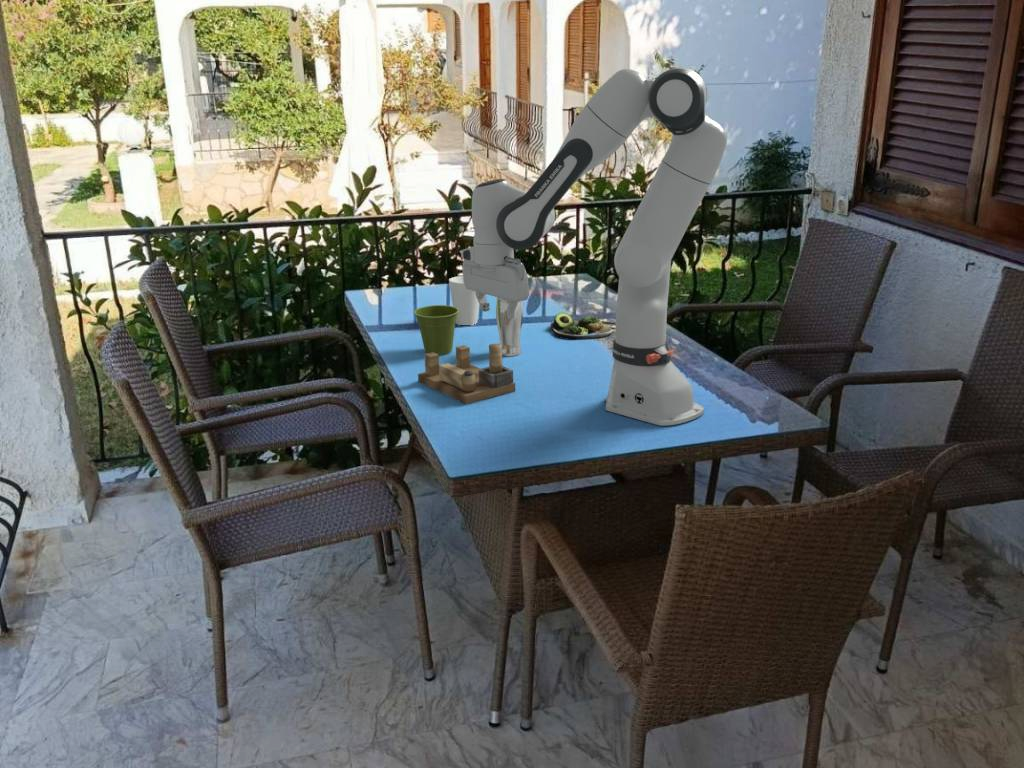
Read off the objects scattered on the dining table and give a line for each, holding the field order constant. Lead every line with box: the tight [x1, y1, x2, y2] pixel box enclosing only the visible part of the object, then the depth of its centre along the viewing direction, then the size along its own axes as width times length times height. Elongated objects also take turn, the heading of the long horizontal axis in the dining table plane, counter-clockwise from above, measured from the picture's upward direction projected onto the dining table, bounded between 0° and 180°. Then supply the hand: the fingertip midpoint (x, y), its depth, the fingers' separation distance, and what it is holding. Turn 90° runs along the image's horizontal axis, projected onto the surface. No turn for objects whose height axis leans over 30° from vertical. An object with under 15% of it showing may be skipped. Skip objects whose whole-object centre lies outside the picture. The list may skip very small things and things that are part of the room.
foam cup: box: [448, 275, 480, 326], centre depth 269 cm, size 10×9×13 cm
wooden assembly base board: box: [417, 344, 516, 405], centre depth 218 cm, size 20×14×7 cm
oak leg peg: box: [488, 343, 503, 374], centre depth 214 cm, size 3×3×9 cm
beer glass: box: [495, 297, 524, 357], centre depth 241 cm, size 7×7×15 cm
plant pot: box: [413, 304, 459, 356], centre depth 243 cm, size 12×12×11 cm
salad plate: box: [550, 312, 616, 340], centre depth 263 cm, size 19×18×5 cm
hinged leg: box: [439, 362, 475, 392], centre depth 213 cm, size 12×3×4 cm, turn 38°
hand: (497, 314), depth 210 cm, fingers open, 8 cm apart
